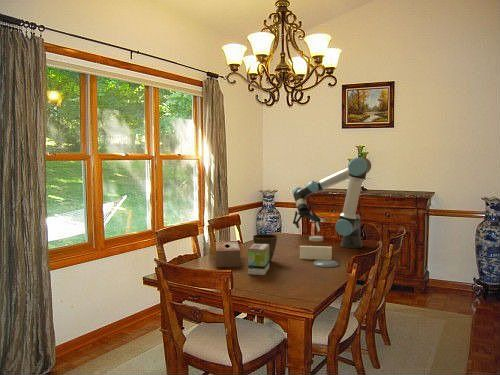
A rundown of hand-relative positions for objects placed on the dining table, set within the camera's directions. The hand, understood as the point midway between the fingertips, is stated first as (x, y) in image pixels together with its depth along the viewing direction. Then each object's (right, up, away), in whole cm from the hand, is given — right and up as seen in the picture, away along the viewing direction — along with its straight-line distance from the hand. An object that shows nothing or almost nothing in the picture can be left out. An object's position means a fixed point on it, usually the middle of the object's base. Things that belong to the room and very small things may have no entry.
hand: (309, 231), depth 292 cm
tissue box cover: (-55, -17, -24) cm, 62 cm away
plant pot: (-31, -17, -25) cm, 44 cm away
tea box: (-36, -18, -47) cm, 62 cm away
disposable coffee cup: (+3, -15, -8) cm, 17 cm away
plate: (+5, -17, -33) cm, 37 cm away
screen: (+1, -16, -20) cm, 25 cm away
